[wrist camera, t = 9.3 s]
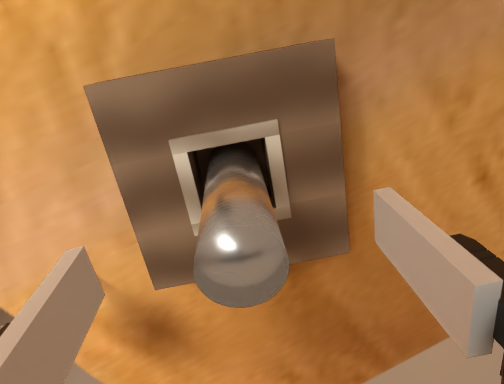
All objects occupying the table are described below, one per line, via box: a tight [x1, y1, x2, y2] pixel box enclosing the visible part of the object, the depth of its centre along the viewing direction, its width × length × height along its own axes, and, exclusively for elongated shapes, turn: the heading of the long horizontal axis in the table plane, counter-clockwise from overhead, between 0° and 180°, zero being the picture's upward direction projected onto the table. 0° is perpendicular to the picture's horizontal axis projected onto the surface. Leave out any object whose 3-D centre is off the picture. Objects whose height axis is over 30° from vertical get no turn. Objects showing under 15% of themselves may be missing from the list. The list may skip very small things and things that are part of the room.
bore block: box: [83, 39, 350, 290], centre depth 27 cm, size 16×16×5 cm
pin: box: [193, 142, 289, 308], centre depth 21 cm, size 4×4×15 cm
